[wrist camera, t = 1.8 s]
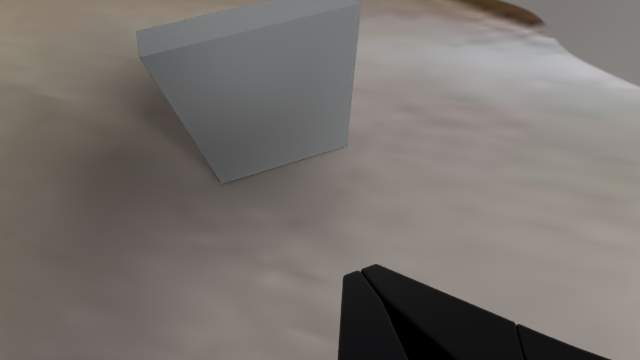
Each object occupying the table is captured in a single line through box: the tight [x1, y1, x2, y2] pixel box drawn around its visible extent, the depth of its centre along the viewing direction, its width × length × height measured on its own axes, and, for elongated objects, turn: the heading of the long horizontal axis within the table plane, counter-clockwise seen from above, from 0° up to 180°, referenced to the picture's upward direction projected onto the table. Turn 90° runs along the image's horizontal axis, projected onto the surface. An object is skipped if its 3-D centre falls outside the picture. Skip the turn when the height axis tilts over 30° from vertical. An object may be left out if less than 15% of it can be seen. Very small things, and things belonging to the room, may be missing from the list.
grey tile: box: [136, 0, 361, 184], centre depth 20 cm, size 2×10×12 cm, turn 109°
